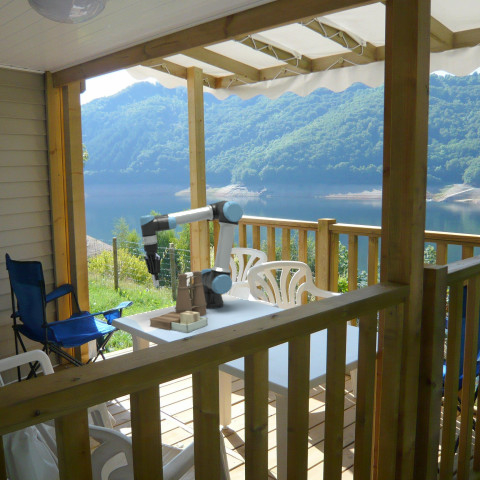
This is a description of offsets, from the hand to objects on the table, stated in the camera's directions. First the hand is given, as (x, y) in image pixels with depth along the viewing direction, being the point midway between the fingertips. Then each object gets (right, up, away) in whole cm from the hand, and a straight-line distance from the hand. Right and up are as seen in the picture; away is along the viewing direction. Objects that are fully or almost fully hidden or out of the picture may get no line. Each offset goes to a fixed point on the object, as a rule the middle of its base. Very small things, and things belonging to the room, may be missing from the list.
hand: (156, 285), depth 277 cm
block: (+17, -16, -14) cm, 27 cm away
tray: (+20, -20, -15) cm, 32 cm away
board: (+10, -20, -8) cm, 23 cm away
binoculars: (+19, -18, +8) cm, 27 cm away
